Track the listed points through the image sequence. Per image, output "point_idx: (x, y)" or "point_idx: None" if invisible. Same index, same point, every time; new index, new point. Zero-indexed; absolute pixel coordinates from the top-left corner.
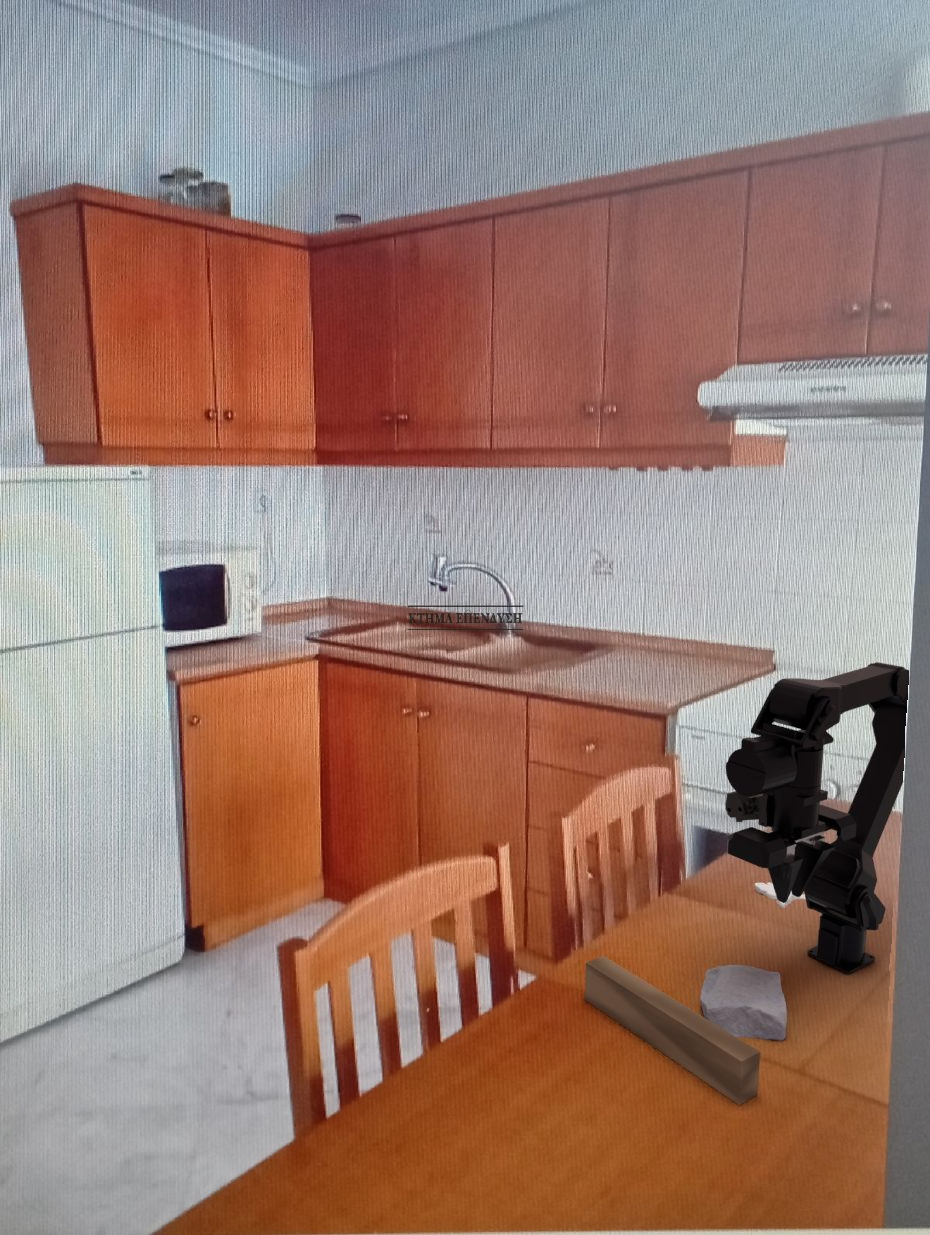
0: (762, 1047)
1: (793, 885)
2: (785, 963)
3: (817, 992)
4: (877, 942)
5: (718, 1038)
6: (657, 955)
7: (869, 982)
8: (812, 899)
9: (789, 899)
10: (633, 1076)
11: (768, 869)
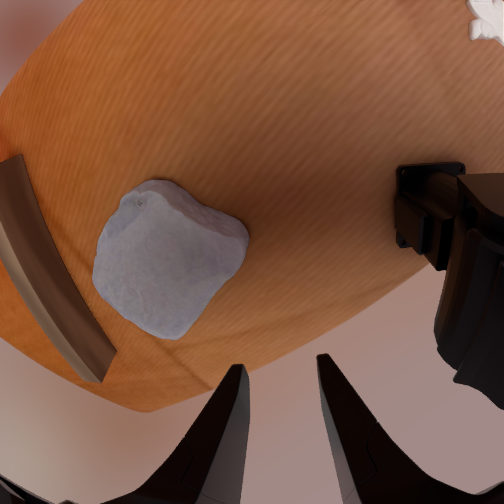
0: None
1: (320, 386)
2: (339, 168)
3: (313, 260)
4: None
5: (69, 358)
6: (121, 60)
7: (402, 269)
8: (452, 237)
9: (488, 38)
10: None
11: (166, 461)
